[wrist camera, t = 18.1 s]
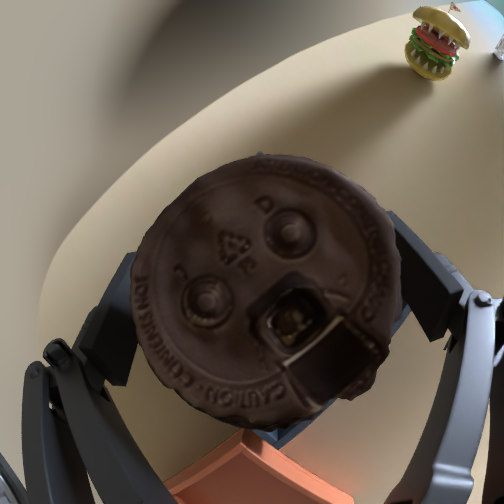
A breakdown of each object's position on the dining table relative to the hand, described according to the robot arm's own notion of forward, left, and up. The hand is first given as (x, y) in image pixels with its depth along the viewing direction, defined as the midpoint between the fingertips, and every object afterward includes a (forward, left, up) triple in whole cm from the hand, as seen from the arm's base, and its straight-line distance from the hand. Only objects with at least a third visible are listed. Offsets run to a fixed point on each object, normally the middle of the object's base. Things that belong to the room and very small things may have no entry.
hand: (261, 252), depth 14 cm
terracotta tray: (+14, -15, -6) cm, 22 cm away
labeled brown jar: (+2, -1, -6) cm, 6 cm away
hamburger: (-2, +34, -6) cm, 34 cm away
